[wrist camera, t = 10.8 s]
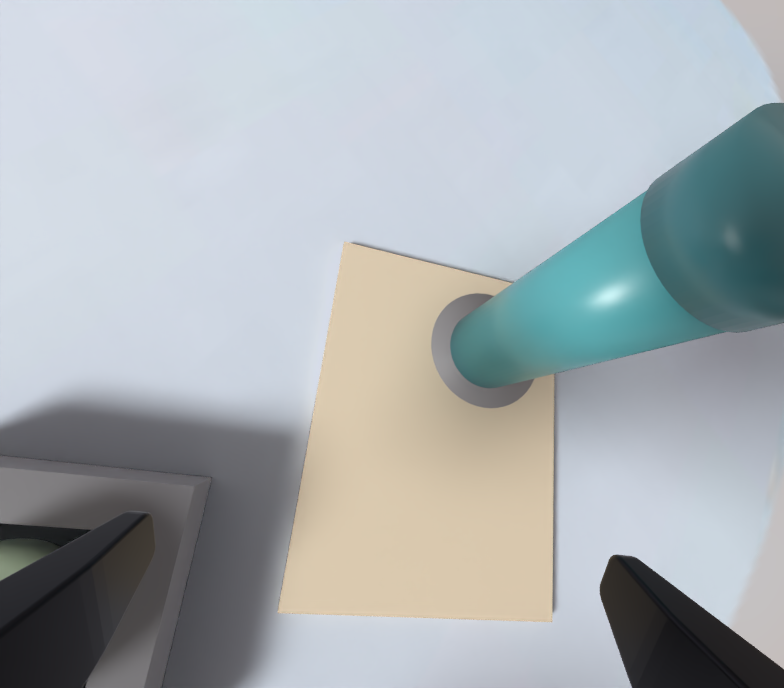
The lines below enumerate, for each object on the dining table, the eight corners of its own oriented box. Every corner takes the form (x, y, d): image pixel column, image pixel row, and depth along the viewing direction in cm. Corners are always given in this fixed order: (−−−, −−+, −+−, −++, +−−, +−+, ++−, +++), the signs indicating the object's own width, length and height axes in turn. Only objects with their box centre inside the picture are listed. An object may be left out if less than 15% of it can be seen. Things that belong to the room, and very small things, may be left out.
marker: (487, 407, 19) (865, 349, 6) (431, 342, 19) (702, 160, 6) (537, 355, 20) (924, 227, 8) (486, 294, 20) (790, 73, 8)
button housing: (144, 757, 13) (103, 846, 10) (-200, 772, 11) (-371, 888, 8) (212, 477, 15) (194, 486, 12) (-60, 448, 13) (-154, 452, 11)
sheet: (546, 618, 17) (552, 622, 17) (278, 608, 15) (277, 613, 14) (550, 296, 22) (555, 293, 21) (343, 245, 19) (344, 241, 19)
